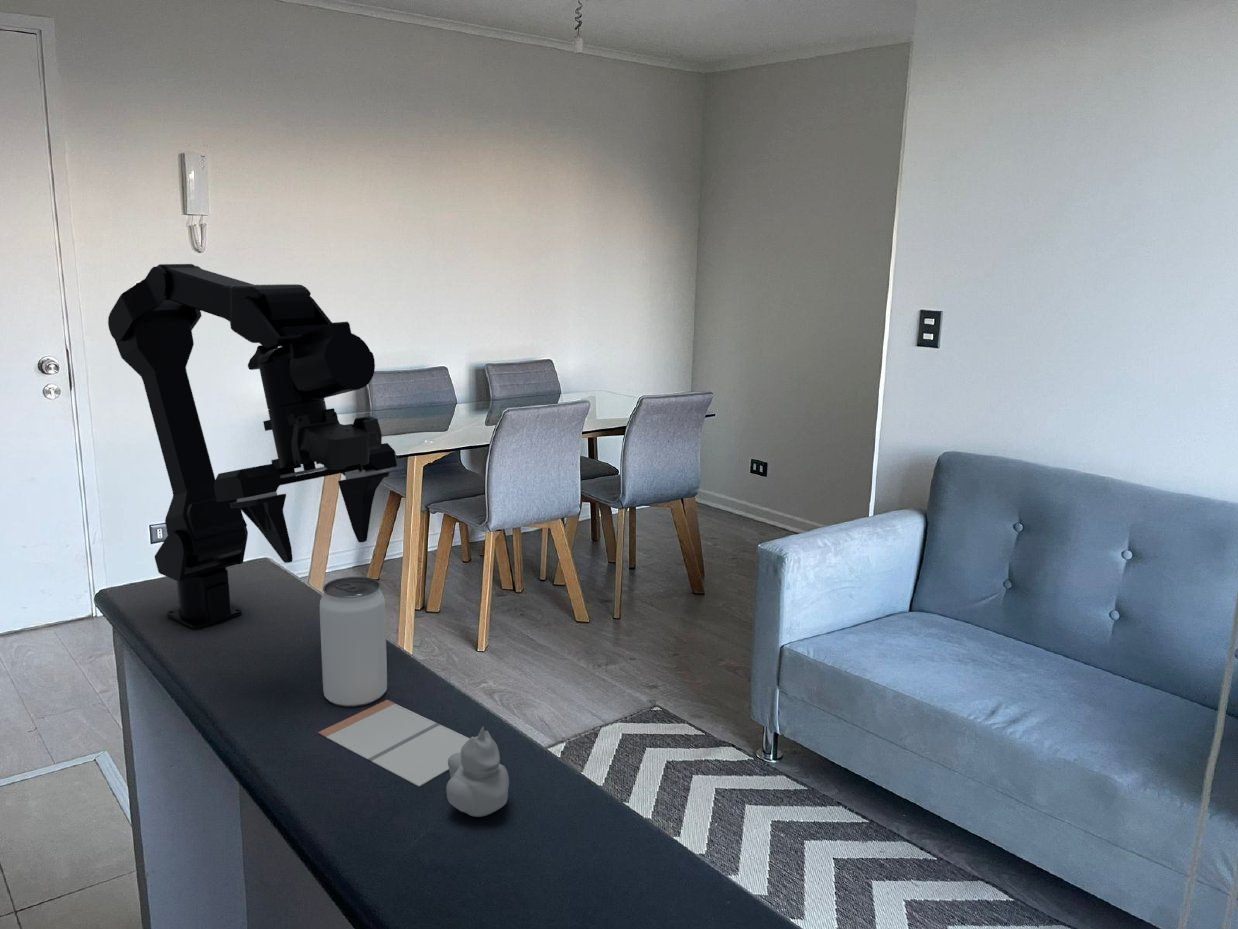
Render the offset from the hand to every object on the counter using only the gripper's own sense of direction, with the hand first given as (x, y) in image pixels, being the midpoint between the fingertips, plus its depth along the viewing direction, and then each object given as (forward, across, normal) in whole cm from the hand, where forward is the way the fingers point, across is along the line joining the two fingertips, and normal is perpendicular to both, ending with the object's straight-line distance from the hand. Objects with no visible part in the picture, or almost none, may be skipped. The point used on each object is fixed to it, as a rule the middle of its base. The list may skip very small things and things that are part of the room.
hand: (326, 551), depth 100 cm
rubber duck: (+22, -6, -24) cm, 33 cm away
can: (+15, 0, -1) cm, 15 cm away
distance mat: (+18, -4, -11) cm, 22 cm away
